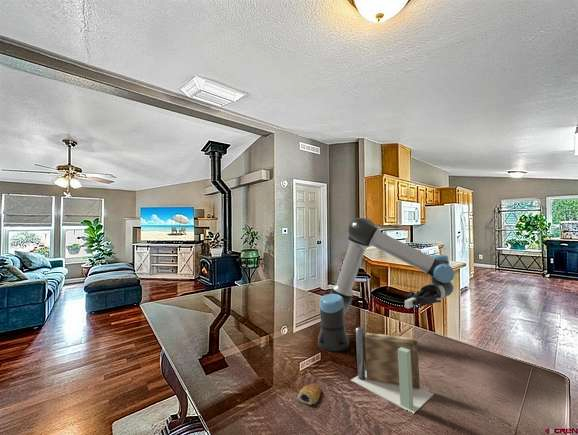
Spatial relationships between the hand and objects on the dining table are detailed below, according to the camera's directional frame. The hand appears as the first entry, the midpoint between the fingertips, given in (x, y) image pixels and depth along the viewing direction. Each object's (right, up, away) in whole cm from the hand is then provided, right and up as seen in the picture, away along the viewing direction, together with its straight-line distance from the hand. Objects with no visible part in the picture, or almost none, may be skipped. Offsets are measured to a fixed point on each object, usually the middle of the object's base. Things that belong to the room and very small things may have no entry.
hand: (406, 304), depth 102 cm
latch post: (-8, -27, -18) cm, 33 cm away
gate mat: (-9, -27, -7) cm, 30 cm away
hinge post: (-18, -28, -2) cm, 33 cm away
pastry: (-38, -29, -11) cm, 49 cm away
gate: (-8, -26, -6) cm, 28 cm away
